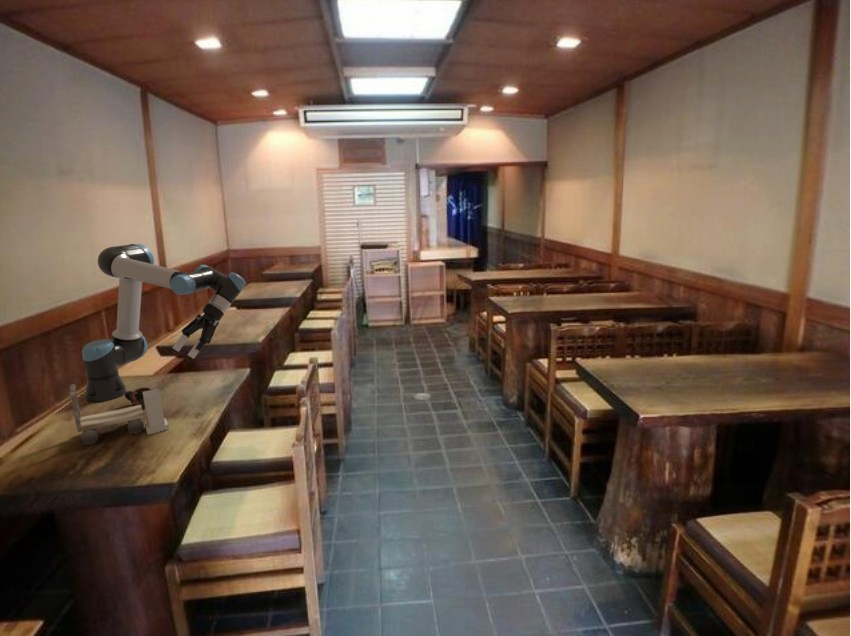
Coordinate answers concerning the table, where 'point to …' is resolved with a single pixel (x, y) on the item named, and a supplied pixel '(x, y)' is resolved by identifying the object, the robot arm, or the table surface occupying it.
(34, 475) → the table surface
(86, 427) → the trolley
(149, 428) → the grey pillar on base
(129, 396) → the broken clay pot
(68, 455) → the table surface
